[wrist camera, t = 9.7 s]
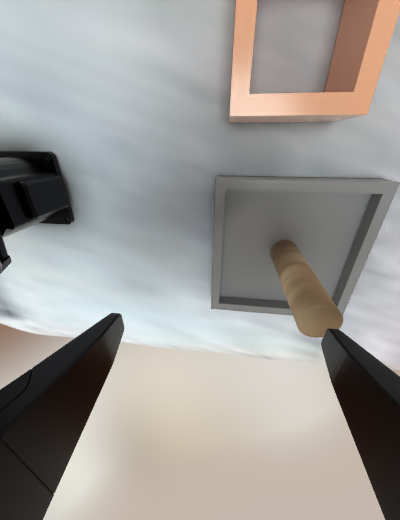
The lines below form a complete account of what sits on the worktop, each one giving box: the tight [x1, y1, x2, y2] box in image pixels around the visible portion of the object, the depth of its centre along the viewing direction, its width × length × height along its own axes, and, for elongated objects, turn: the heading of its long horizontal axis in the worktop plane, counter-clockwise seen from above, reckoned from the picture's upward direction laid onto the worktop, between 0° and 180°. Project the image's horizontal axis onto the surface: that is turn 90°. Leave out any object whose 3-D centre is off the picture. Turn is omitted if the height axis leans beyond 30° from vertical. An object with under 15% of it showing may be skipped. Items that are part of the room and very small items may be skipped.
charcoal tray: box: [211, 176, 399, 316], centre depth 20 cm, size 13×13×2 cm
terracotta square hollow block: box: [229, 0, 400, 123], centre depth 12 cm, size 7×7×4 cm
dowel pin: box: [270, 240, 343, 337], centre depth 16 cm, size 2×2×9 cm
